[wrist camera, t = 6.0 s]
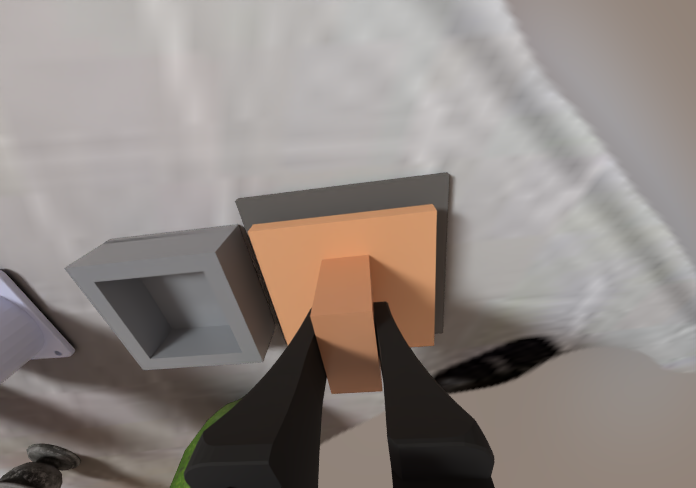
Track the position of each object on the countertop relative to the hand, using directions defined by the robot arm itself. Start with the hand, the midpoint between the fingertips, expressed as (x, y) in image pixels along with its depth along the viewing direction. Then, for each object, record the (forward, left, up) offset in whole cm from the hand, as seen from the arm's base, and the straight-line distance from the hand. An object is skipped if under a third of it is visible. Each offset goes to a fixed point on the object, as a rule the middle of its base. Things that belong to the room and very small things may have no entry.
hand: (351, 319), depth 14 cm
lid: (0, 0, -4) cm, 4 cm away
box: (-10, 0, -4) cm, 11 cm away
